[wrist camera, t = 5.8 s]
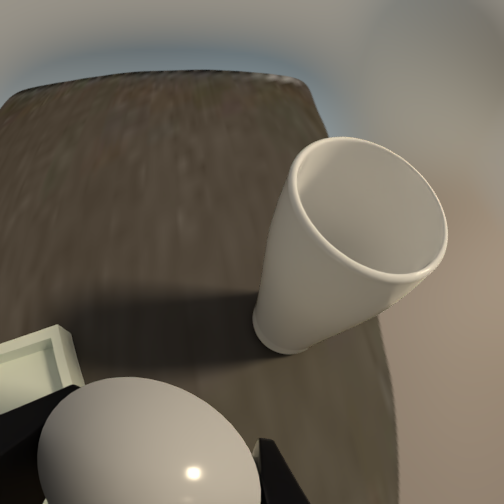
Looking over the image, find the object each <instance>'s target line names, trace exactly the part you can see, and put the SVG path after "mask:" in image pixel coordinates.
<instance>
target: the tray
mask: <svg viewBox="0 0 504 504" xmlns="http://www.w3.org/2000/svg"><path fill="white" fill-rule="evenodd" d="M72 384H75V385H77V386H79V387H83V386H85V383H84V380H83V376H82V373H81V370H80V366H79V363H78V359H77V355H76V352H75V348H74V344H73V340H72V336H71V333H69V332H68V331H67V330H65V329H64V328H62V327H61V326H59V325H58V324H57V325H54V326H51V327H48V328H45V329H42V330H40V331H37V332H34V333H31V334H28V335H25V336H22V337H19V338H16V339H13V340H11V341H8V342H5V343H2V344H0V414H3V413H5V412H8V411H10V410H13V409H15V408H18V407H20V406H22V405H25V404H27V403H30V402H32V401H34V400H37V399H39V398H41V397H44V396H46V395H48V394H51V393H53V392H55V391H58V390H60V389H62V388H65V387H67V386H69V385H72ZM43 504H48V502H47V500H46V498H45V500H44V502H43Z"/></svg>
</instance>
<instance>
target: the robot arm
mask: <svg viewBox="0 0 504 504" xmlns="http://www.w3.org/2000/svg"><path fill="white" fill-rule="evenodd" d="M79 388H81V387H79V386H77V385H75V384H72V385H69V386H67V387H65V388H62V389H60V390H58V391H55V392H53V393H51V394H48V395H46V396H44V397H41V398H39V399H37V400H34V401H32V402H30V403H27V404H25V405H22V406H20V407H18V408H15V409H13V410H10V411H8V412H5V413H3V414H0V504H43V502H44V500H45V498H46V497H45V495H44V493H43V490H42V486H41V483H40V479H39V473H38V467H37V452H38V444H39V439H40V436H41V432H42V429H43V427H44V425H45V423H46V420H47V419H48V417H49V416H50V414H51V413H52V411H53V410H54V408H55V407H56V406H57V405H58V404H59V403H60V402H61V401H62V400H63V399H64V398H66V397H67V396H68V395H69V394H71V393H72V392H74V391H75V390H77V389H79ZM252 457H253V459H254V462H255V465H256V468H257V471H258V475H259V481H260V488H261V502H260V504H310V502H309V501H308V499H307V497H306V496H305V494H304V492H303V491H302V489H301V487H300V486H299V484H298V482H297V481H296V479H295V477H294V475H293V474H292V472H291V470H290V469H289V467H288V465H287V463H286V462H285V460H284V458H283V456H282V455H281V453H280V451H279V449H278V447H277V446H276V444H275V442H274V441H273V440H271V439H265V438H259V439H258V440H257V442H256V445H255V447H254V450H253V452H252Z"/></svg>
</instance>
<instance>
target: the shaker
mask: <svg viewBox="0 0 504 504" xmlns="http://www.w3.org/2000/svg"><path fill="white" fill-rule="evenodd" d="M37 467H38V473H39V479H40V483H41V486H42V490H43V493H44V495H45V497H46V500H47V502H48V504H260V502H261V488H260V481H259V475H258V471H257V468H256V465H255V462H254V459H253V457H252V455H251V453H250V451H249V449H248V447H247V445H246V444H245V442H244V441H243V439H242V437H241V436H240V435H239V433H238V432H237V431H236V430H235V428H234V427H233V426H232V425H231V424H230V423H229V422H228V421H227V420H226V419H225V418H224V417H223V416H222V415H221V414H220V413H219V412H218V411H216V410H215V409H214V408H213V407H211V406H210V405H209V404H208V403H206V402H204V401H203V400H201V399H200V398H198V397H196V396H195V395H193V394H191V393H189V392H187V391H185V390H183V389H181V388H178V387H175V386H173V385H170V384H167V383H164V382H160V381H156V380H152V379H145V378H138V377H117V378H108V379H104V380H100V381H96V382H93V383H90V384H88V385H85V386H83V387H81V388H79V389H77V390H75V391H74V392H72V393H71V394H69V395H68V396H67V397H66V398H64V399H63V400H62V401H61V402H60V403H59V404H58V405H57V406H56V407H55V408H54V410H53V411H52V413H51V414H50V416H49V417H48V419H47V420H46V423H45V425H44V427H43V429H42V432H41V436H40V439H39V444H38V452H37Z"/></svg>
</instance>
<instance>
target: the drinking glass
mask: <svg viewBox="0 0 504 504" xmlns="http://www.w3.org/2000/svg"><path fill="white" fill-rule="evenodd" d="M447 241H448V228H447V222H446V218H445V214H444V211H443V208H442V206H441V203H440V201H439V199H438V197H437V196H436V194H435V192H434V190H433V189H432V188H431V186H430V185H429V183H428V182H427V181H426V180H425V178H424V177H423V176H422V175H421V174H420V173H419V172H418V171H417V170H416V169H415V168H414V167H413V166H412V165H411V164H409V163H408V162H407V161H406V160H404V159H403V158H401V157H400V156H399V155H397V154H395V153H394V152H392V151H390V150H388V149H387V148H384V147H382V146H380V145H377V144H375V143H373V142H369V141H366V140H362V139H358V138H351V137H331V138H325V139H321V140H318V141H316V142H314V143H312V144H310V145H308V146H307V147H305V148H304V149H303V150H302V151H301V152H300V153H299V154H298V155H297V156H296V158H295V159H294V161H293V163H292V165H291V167H290V170H289V173H288V176H287V178H286V181H285V183H284V186H283V188H282V191H281V193H280V196H279V199H278V202H277V204H276V208H275V211H274V214H273V217H272V221H271V224H270V228H269V232H268V237H267V242H266V247H265V253H264V260H263V266H262V273H261V279H260V285H259V291H258V297H257V302H256V304H255V307H254V310H253V327H254V330H255V333H256V335H257V336H258V338H259V339H260V341H261V342H262V343H263V344H264V345H265V346H266V347H268V348H269V349H271V350H273V351H275V352H277V353H281V354H297V353H300V352H303V351H305V350H307V349H309V348H310V347H312V346H313V345H315V344H318V343H320V342H322V341H324V340H326V339H329V338H331V337H333V336H335V335H338V334H340V333H342V332H344V331H347V330H349V329H351V328H353V327H355V326H357V325H360V324H362V323H364V322H366V321H368V320H369V319H371V318H373V317H375V316H376V315H378V314H380V313H381V312H383V311H385V310H386V309H388V308H389V307H390V306H392V305H393V304H395V303H396V302H397V301H399V300H400V299H402V298H403V297H404V296H405V295H406V294H408V293H409V292H410V291H411V290H412V289H414V288H415V287H416V286H417V285H418V284H420V283H421V282H422V281H423V280H424V279H425V278H426V277H427V276H428V275H429V274H430V273H431V272H433V271H434V270H435V269H436V268H437V266H438V265H439V264H440V262H441V260H442V259H443V256H444V254H445V251H446V247H447Z"/></svg>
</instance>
